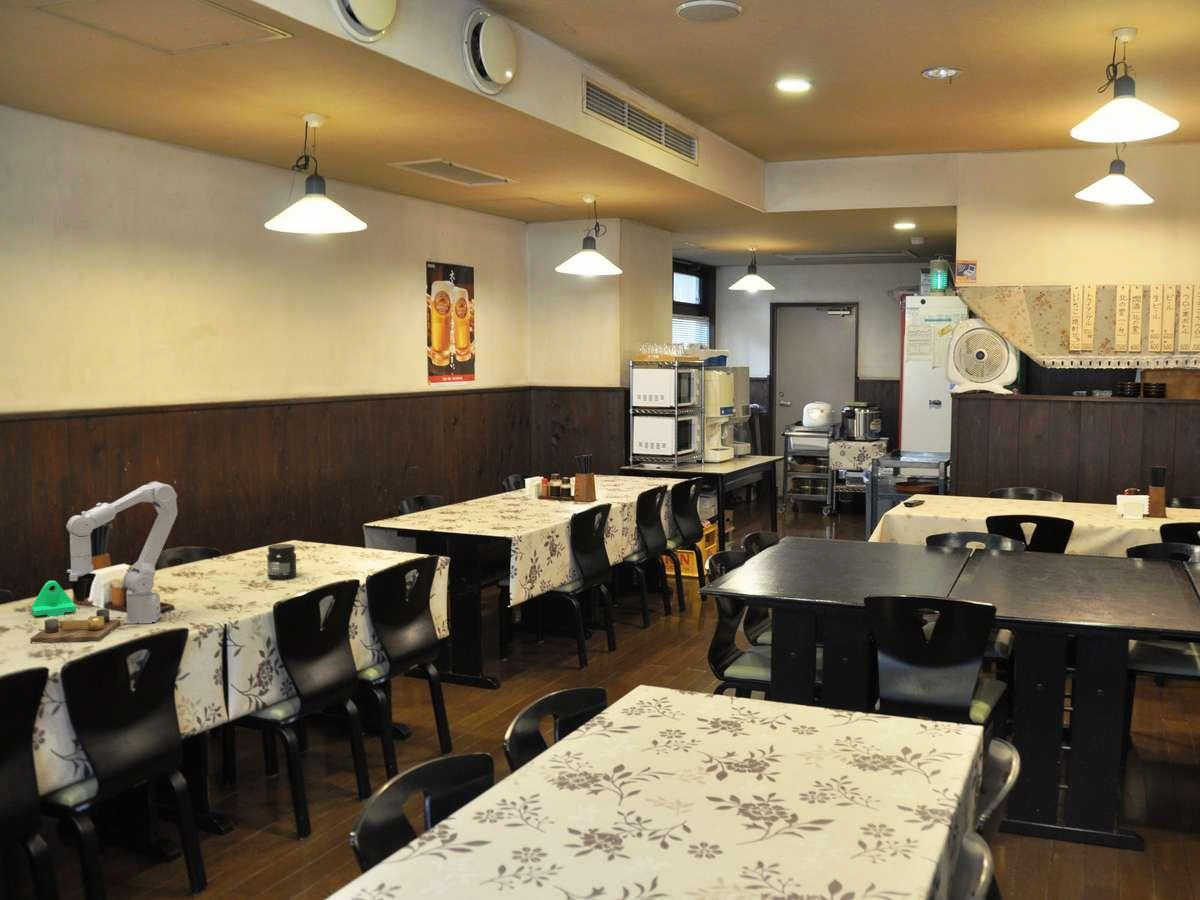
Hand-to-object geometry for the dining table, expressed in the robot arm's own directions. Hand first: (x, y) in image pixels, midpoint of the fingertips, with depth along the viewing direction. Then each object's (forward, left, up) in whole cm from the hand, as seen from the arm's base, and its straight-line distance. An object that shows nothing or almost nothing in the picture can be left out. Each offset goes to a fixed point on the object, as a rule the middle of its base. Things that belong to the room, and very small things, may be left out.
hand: (82, 599), depth 328 cm
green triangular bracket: (+17, -22, -10) cm, 29 cm away
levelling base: (+1, +4, -9) cm, 10 cm away
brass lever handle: (-2, +5, -8) cm, 10 cm away
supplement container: (-46, -71, -10) cm, 85 cm away
